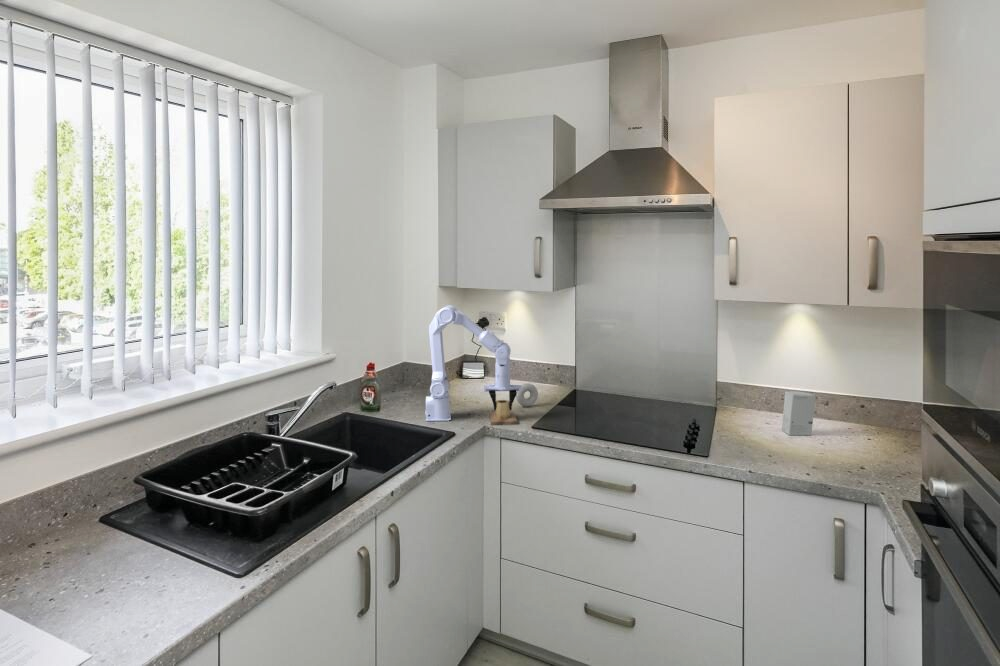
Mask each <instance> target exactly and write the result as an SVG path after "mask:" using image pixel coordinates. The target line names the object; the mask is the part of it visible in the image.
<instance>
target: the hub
mask: <svg viewBox="0 0 1000 666" xmlns="http://www.w3.org/2000/svg"><path fill="white" fill-rule="evenodd" d="M495 412H496V418H499V419H507V418H509V417H510V412H511V410H510V402H509V400H506V399H499V400H496V410H495Z"/></svg>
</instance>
